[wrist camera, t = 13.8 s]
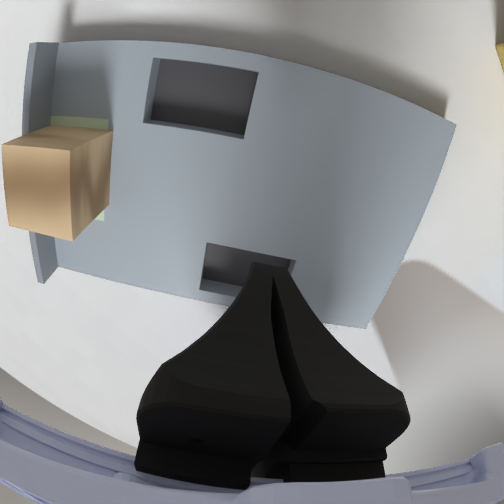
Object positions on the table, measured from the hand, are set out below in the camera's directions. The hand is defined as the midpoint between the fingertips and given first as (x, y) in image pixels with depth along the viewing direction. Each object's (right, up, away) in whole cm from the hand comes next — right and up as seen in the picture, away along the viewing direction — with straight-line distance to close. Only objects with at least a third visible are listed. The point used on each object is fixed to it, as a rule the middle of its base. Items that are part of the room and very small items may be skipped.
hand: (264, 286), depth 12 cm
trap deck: (-2, +6, +8) cm, 10 cm away
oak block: (-12, +7, +6) cm, 15 cm away
